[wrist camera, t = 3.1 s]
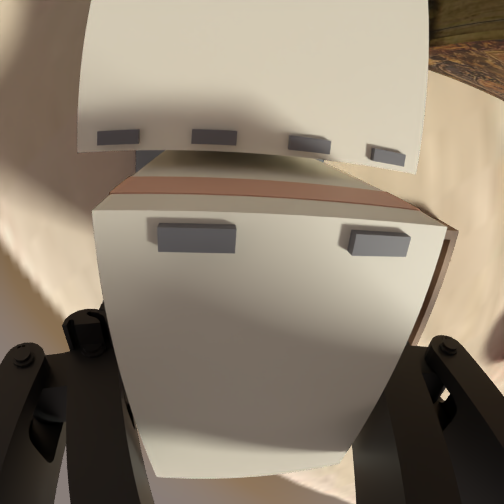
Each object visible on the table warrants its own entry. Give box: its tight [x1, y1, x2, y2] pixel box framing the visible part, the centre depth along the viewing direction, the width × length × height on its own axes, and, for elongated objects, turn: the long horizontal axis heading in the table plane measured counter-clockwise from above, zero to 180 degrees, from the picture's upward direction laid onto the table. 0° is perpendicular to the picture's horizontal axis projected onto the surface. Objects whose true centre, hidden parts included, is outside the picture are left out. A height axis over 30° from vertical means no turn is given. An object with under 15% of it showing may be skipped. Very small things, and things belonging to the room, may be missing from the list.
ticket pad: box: [77, 0, 429, 174], centre depth 8 cm, size 7×8×9 cm
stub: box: [92, 150, 447, 479], centre depth 10 cm, size 7×5×11 cm
